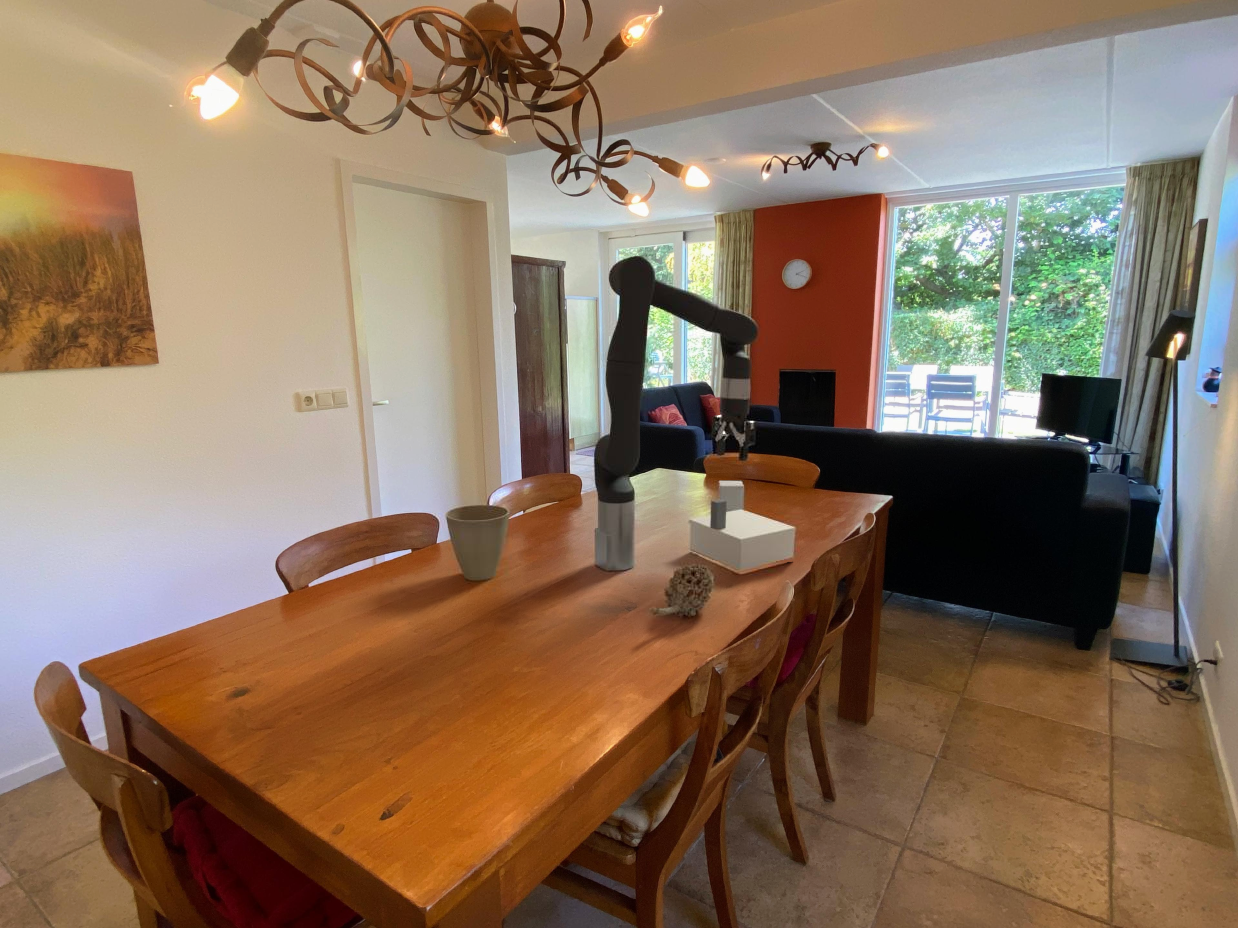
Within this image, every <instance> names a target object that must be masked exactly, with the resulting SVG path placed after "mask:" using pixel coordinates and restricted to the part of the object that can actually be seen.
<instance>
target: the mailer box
mask: <svg viewBox="0 0 1238 928" xmlns="http://www.w3.org/2000/svg"><path fill="white" fill-rule="evenodd" d="M689 527H690V533H689V535H690V537H689V539H690V540H689V551H690V550H691V551H693V552H696V553H698V554H701V555H703V556H705V557H708V558H710V559H712V560H715V561H718V562H720V563H722V564H724V565H726V566H729V567H731V568H733V569H735V570H739V571H743V570H747V569H751V568H755V567H758V566H761V565H764V564H769V563H772V562H776V561H780V560H784V559H788V558H791V557H793V558H794V555H795V554H794V553H795V535H796V532H794V533H789V534H784V535H780V536H775V537H771V538H766V539H762V540H757V541H752V542H748V543H743V544H739V543H737V542H734V541H732V540H729V539H727V538H724V537H722V536H719V535H717V534H714V533H712V532H709V531H707V530H704V529H702V528H699V527H697V526H694V525H692V524H690V526H689Z"/></svg>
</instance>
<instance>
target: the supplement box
mask: <svg viewBox="0 0 1238 928" xmlns="http://www.w3.org/2000/svg"><path fill="white" fill-rule="evenodd" d="M744 498H745V485H744V484H743V481H742V480H719V481H718V500H719V499H721V500H724V501H726V512H729V511H735V510H740V509H742V510H744V507H745V506H744V504H745V503H744V501H745V499H744Z"/></svg>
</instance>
